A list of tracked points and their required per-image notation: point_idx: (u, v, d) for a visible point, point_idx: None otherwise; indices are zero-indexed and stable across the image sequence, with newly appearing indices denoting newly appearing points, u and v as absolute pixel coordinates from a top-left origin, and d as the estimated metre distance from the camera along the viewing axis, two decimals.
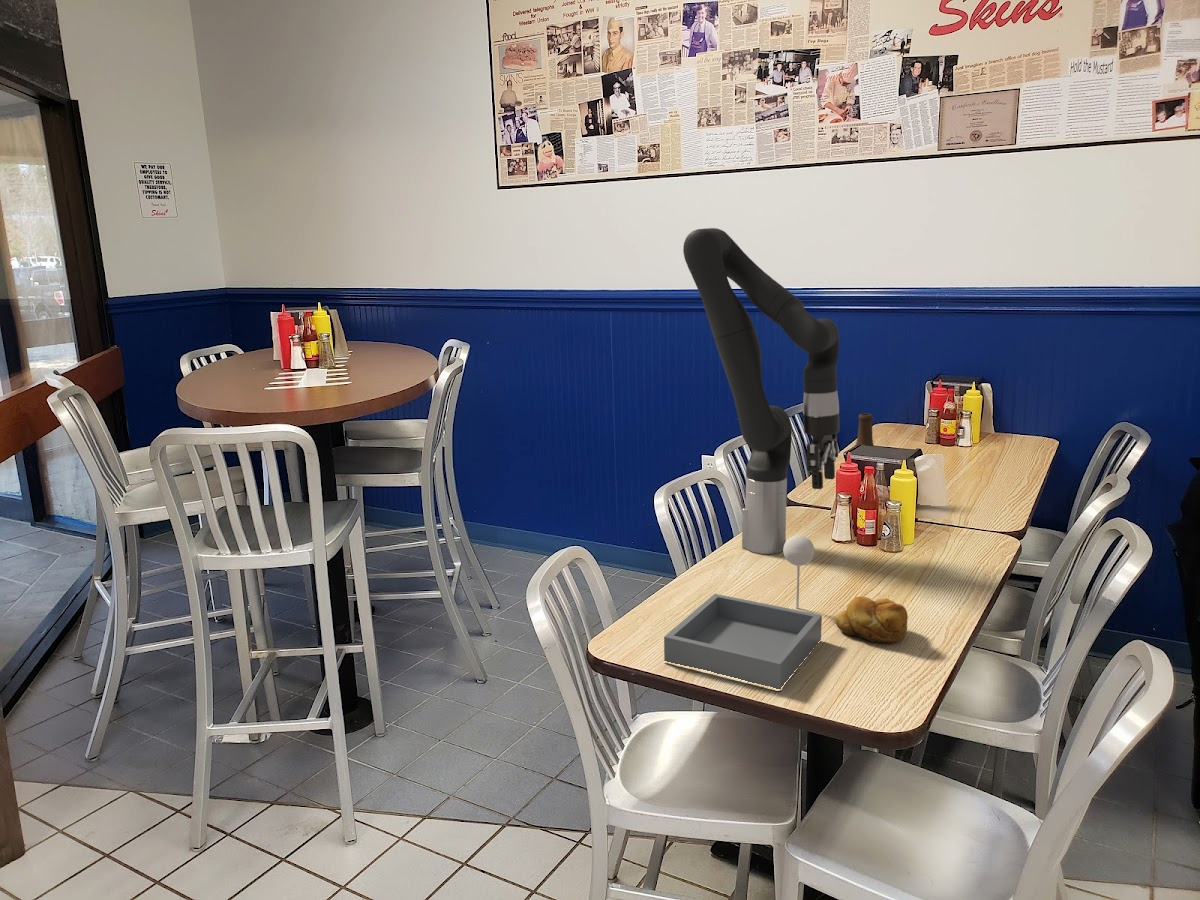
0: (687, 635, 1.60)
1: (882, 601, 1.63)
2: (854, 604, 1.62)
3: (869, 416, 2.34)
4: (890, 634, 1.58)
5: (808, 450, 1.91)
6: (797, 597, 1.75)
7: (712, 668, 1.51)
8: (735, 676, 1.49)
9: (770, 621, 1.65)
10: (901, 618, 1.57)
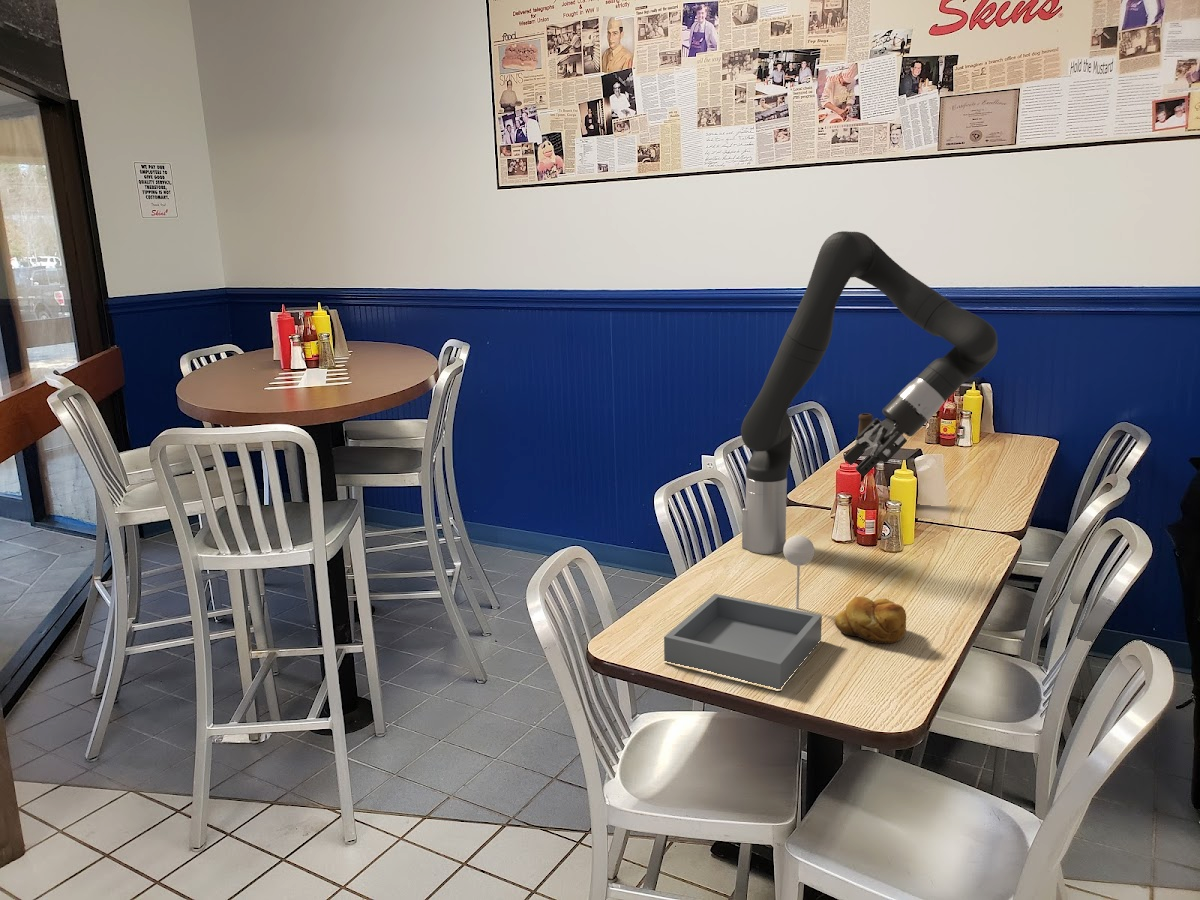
0: (687, 635, 1.60)
1: (881, 601, 1.62)
2: (853, 604, 1.63)
3: (869, 416, 2.34)
4: (888, 634, 1.58)
5: (895, 438, 1.66)
6: (797, 597, 1.75)
7: (712, 668, 1.51)
8: (735, 676, 1.49)
9: (770, 621, 1.65)
10: (900, 619, 1.57)
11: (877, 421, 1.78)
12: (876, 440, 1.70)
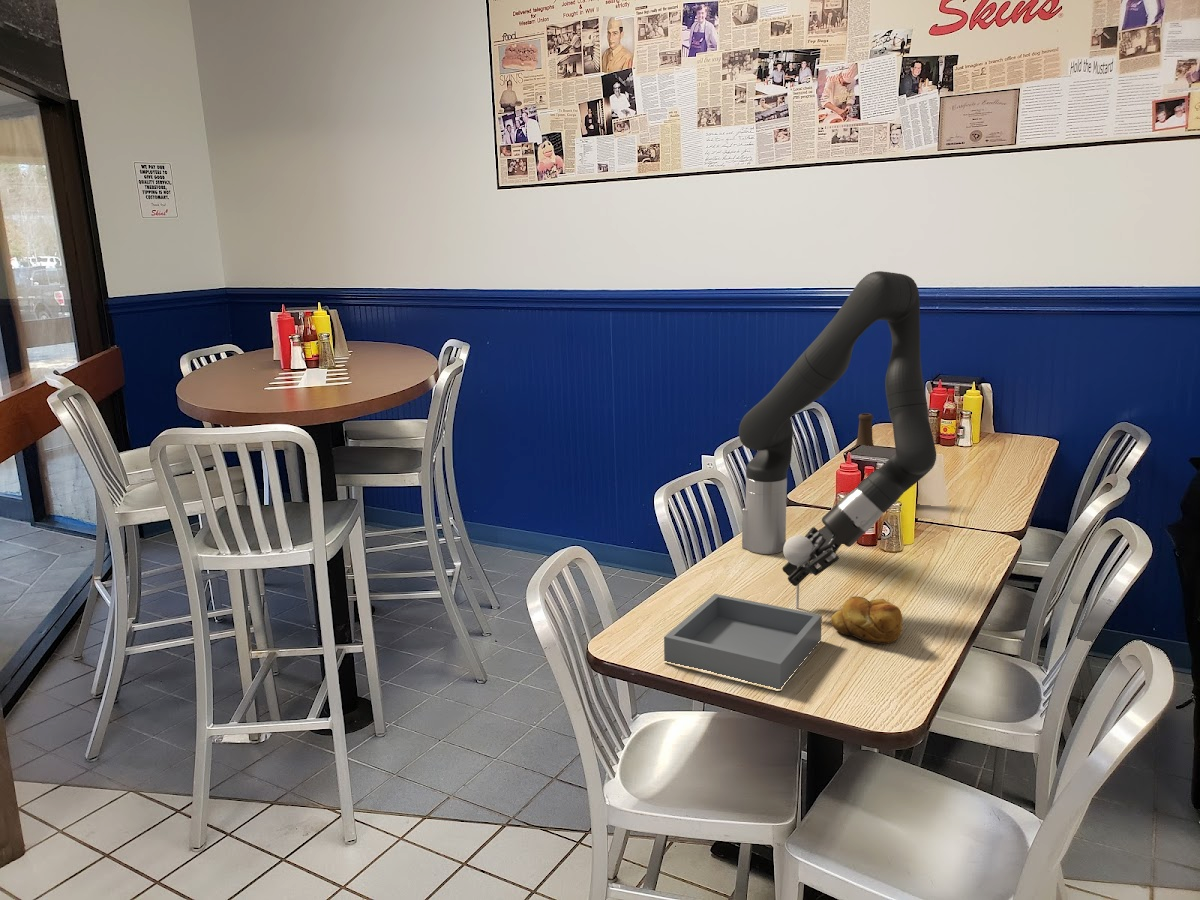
0: (687, 635, 1.60)
1: (877, 601, 1.62)
2: (849, 604, 1.63)
3: (869, 416, 2.34)
4: (883, 634, 1.58)
5: (826, 556, 1.67)
6: (797, 597, 1.75)
7: (712, 668, 1.51)
8: (735, 676, 1.49)
9: (770, 621, 1.65)
10: (895, 619, 1.57)
11: (814, 530, 1.78)
12: (811, 551, 1.71)
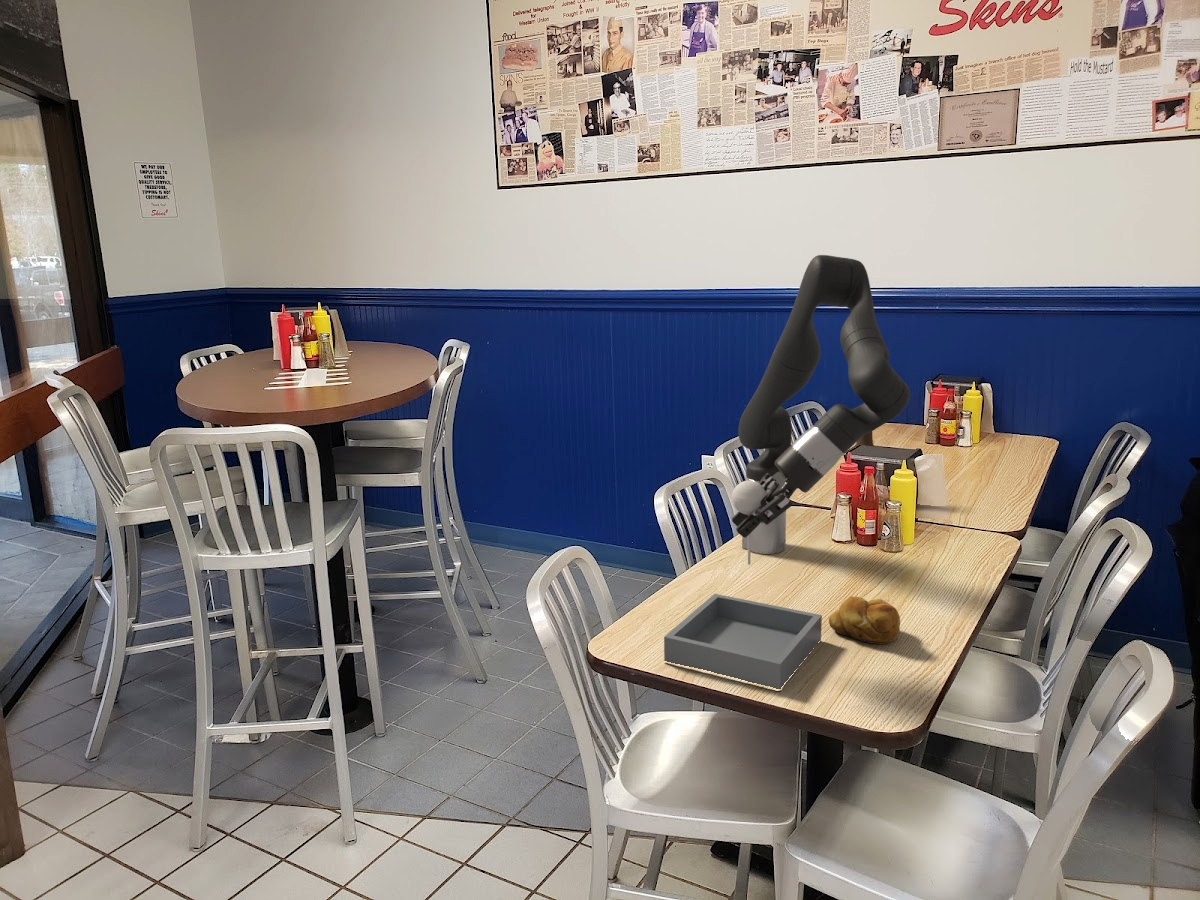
0: (687, 635, 1.60)
1: (875, 602, 1.62)
2: (846, 603, 1.63)
3: None
4: (880, 635, 1.58)
5: (778, 501, 1.46)
6: (748, 551, 1.55)
7: (712, 668, 1.51)
8: (735, 676, 1.49)
9: (770, 621, 1.65)
10: (891, 619, 1.57)
11: (768, 476, 1.58)
12: None
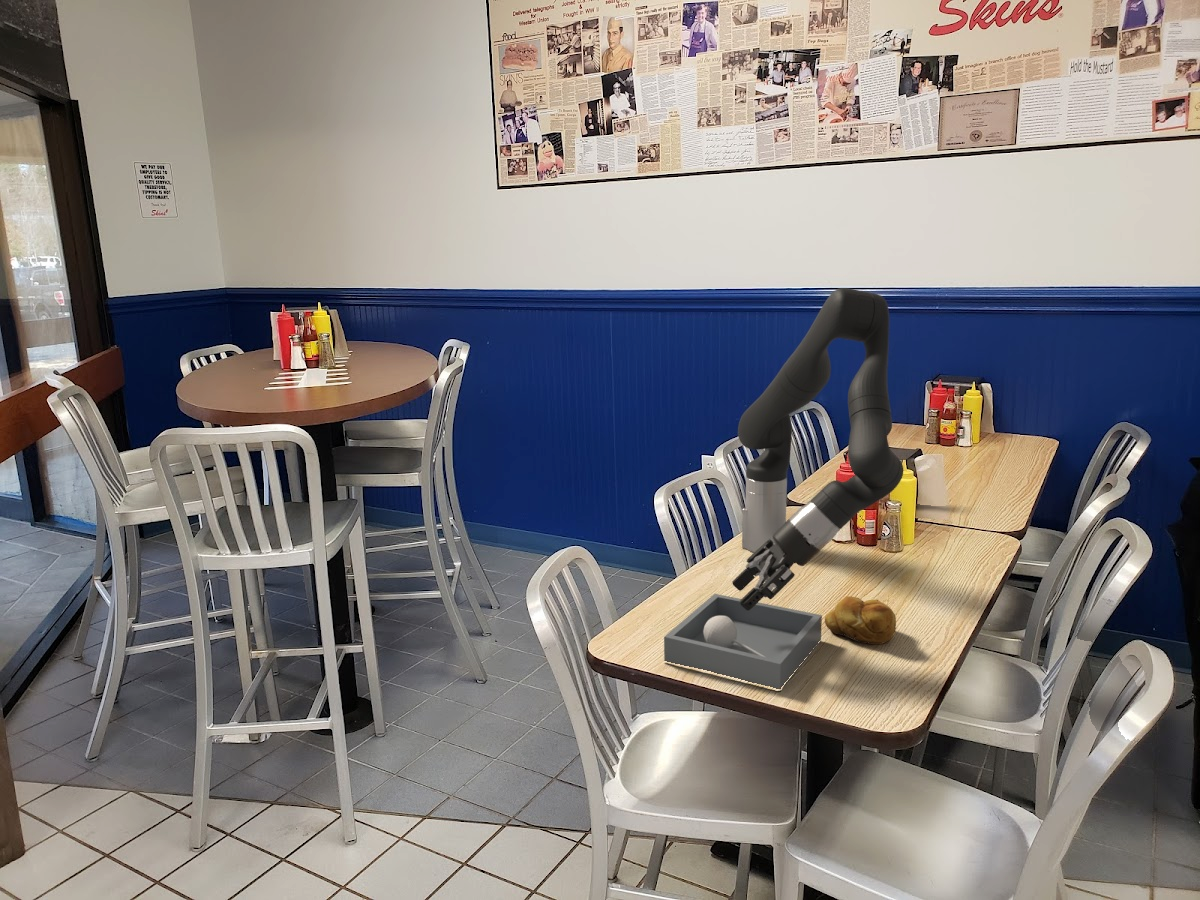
0: (687, 635, 1.60)
1: (870, 602, 1.62)
2: (842, 603, 1.63)
3: None
4: (874, 635, 1.58)
5: (781, 573, 1.49)
6: None
7: (712, 668, 1.51)
8: (735, 676, 1.49)
9: (770, 621, 1.65)
10: (885, 620, 1.57)
11: (770, 543, 1.61)
12: (763, 571, 1.53)
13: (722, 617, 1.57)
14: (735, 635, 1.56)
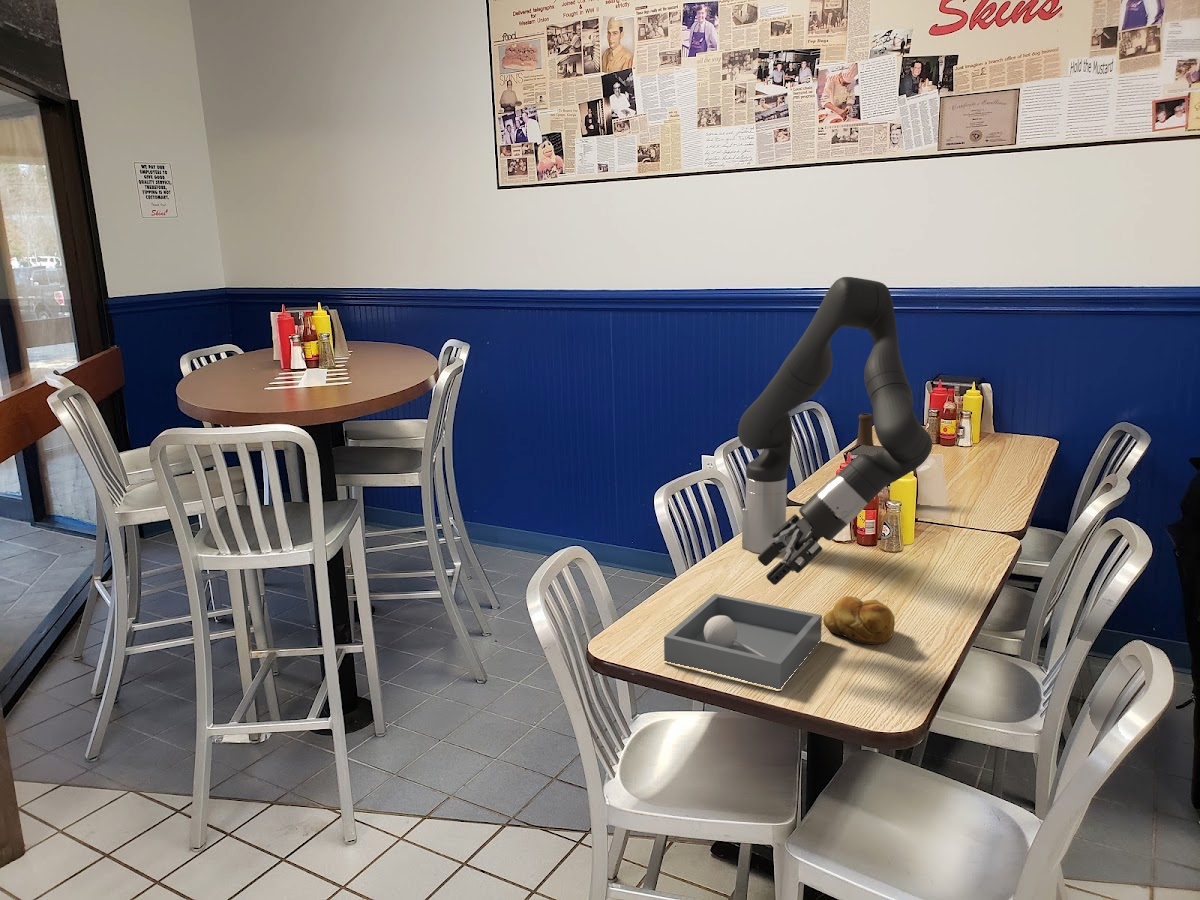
0: (687, 635, 1.60)
1: (869, 602, 1.62)
2: (840, 603, 1.63)
3: (869, 416, 2.34)
4: (872, 635, 1.58)
5: (809, 546, 1.48)
6: None
7: (712, 668, 1.51)
8: (735, 676, 1.49)
9: (770, 621, 1.65)
10: (883, 620, 1.57)
11: (796, 518, 1.60)
12: (790, 545, 1.52)
13: (723, 617, 1.57)
14: (735, 635, 1.56)
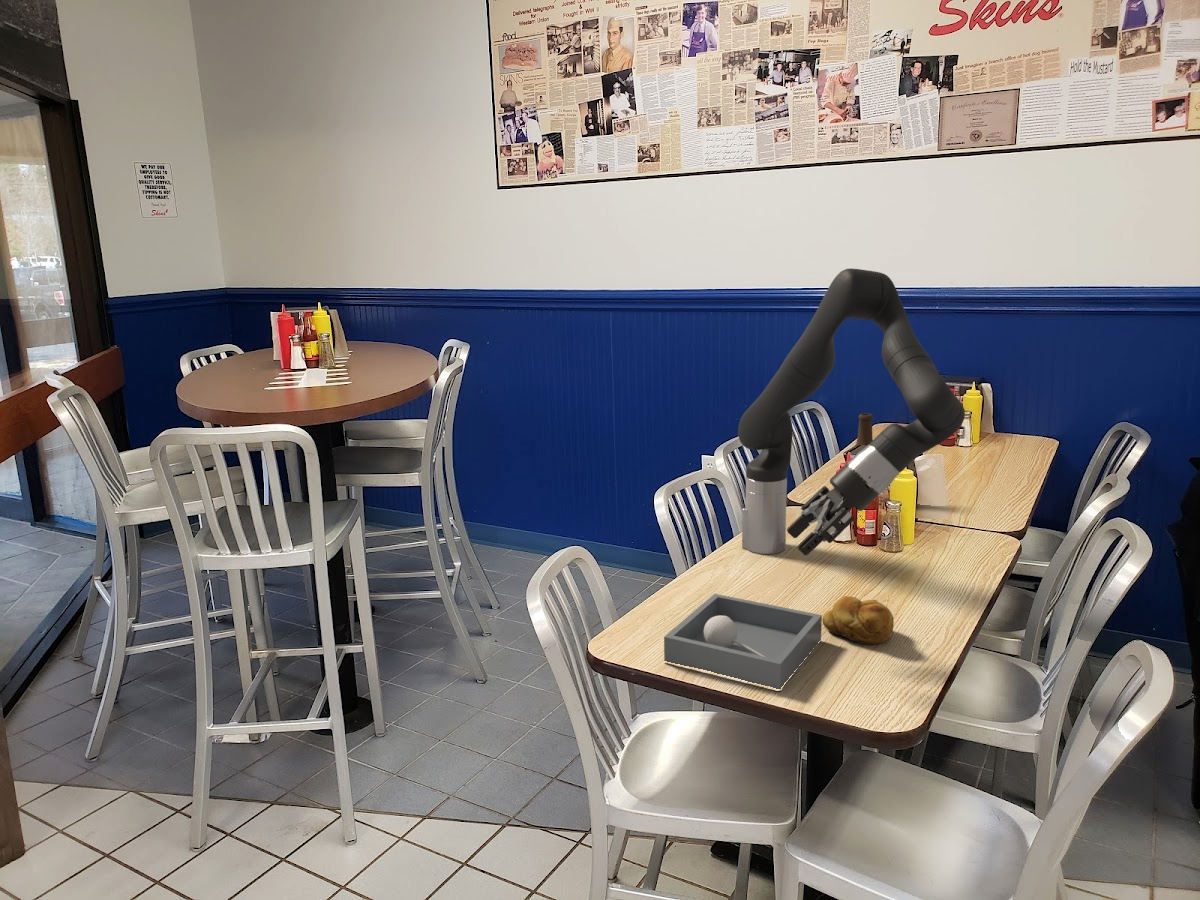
0: (687, 635, 1.60)
1: (868, 602, 1.62)
2: (839, 603, 1.63)
3: (869, 416, 2.34)
4: (871, 635, 1.58)
5: (841, 516, 1.47)
6: None
7: (712, 668, 1.51)
8: (735, 676, 1.49)
9: (770, 621, 1.65)
10: (882, 620, 1.57)
11: (825, 490, 1.59)
12: (821, 515, 1.50)
13: (722, 617, 1.57)
14: (735, 635, 1.56)
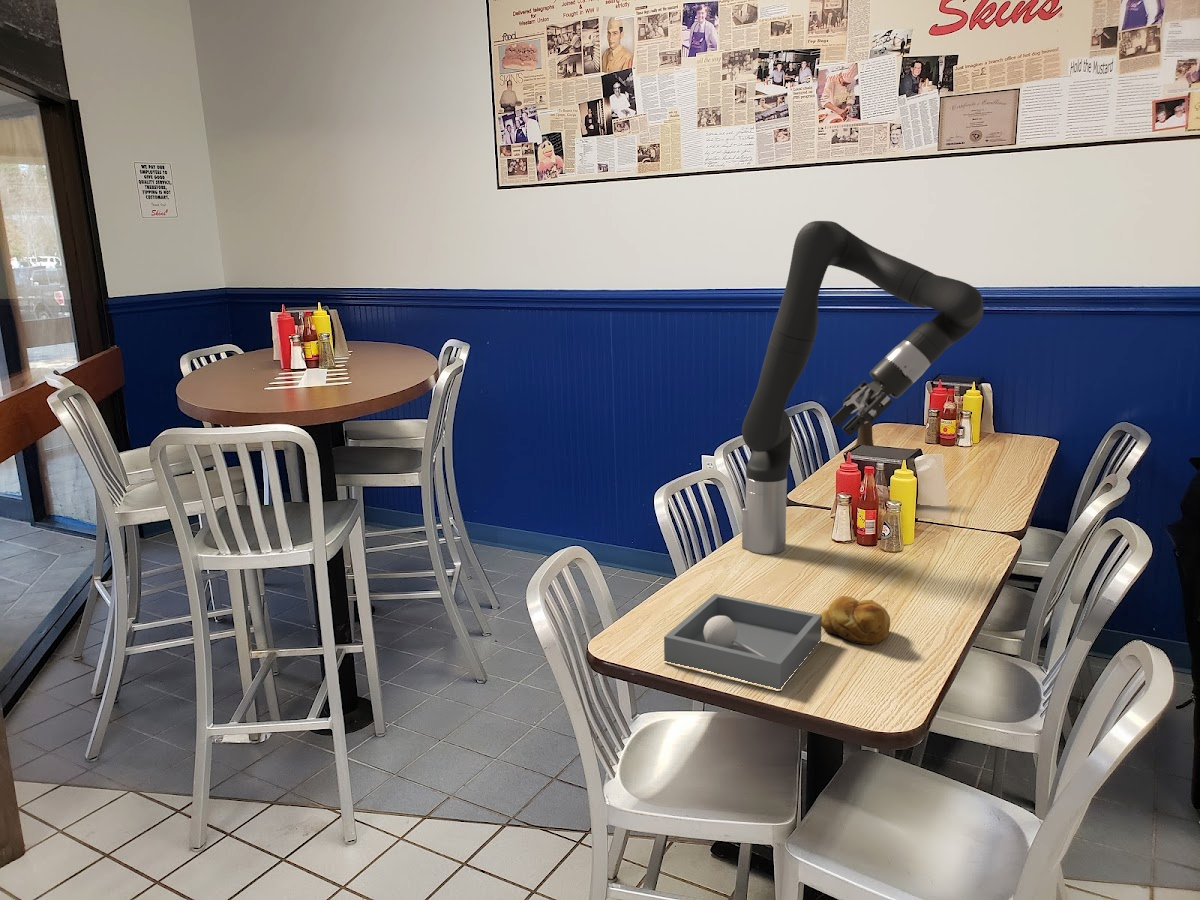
0: (687, 635, 1.60)
1: (864, 602, 1.62)
2: (835, 602, 1.63)
3: None
4: (866, 635, 1.58)
5: (881, 399, 1.70)
6: None
7: (712, 668, 1.51)
8: (735, 676, 1.49)
9: (770, 621, 1.65)
10: (877, 620, 1.57)
11: (864, 384, 1.82)
12: (863, 401, 1.74)
13: (722, 617, 1.57)
14: (735, 635, 1.56)
